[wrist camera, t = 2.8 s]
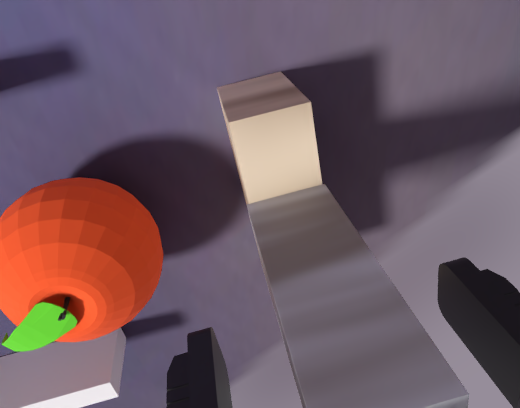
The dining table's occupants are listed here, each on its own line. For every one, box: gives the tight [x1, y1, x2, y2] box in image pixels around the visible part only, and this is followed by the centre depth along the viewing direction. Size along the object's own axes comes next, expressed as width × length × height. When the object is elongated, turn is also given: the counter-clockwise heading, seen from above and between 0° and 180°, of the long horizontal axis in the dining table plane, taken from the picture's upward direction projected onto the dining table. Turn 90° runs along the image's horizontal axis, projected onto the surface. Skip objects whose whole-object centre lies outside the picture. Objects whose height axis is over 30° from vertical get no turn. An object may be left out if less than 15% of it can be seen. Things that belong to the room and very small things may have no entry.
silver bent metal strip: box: [217, 72, 469, 408], centre depth 15 cm, size 10×3×14 cm, turn 11°
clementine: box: [0, 177, 163, 352], centre depth 18 cm, size 8×7×7 cm
